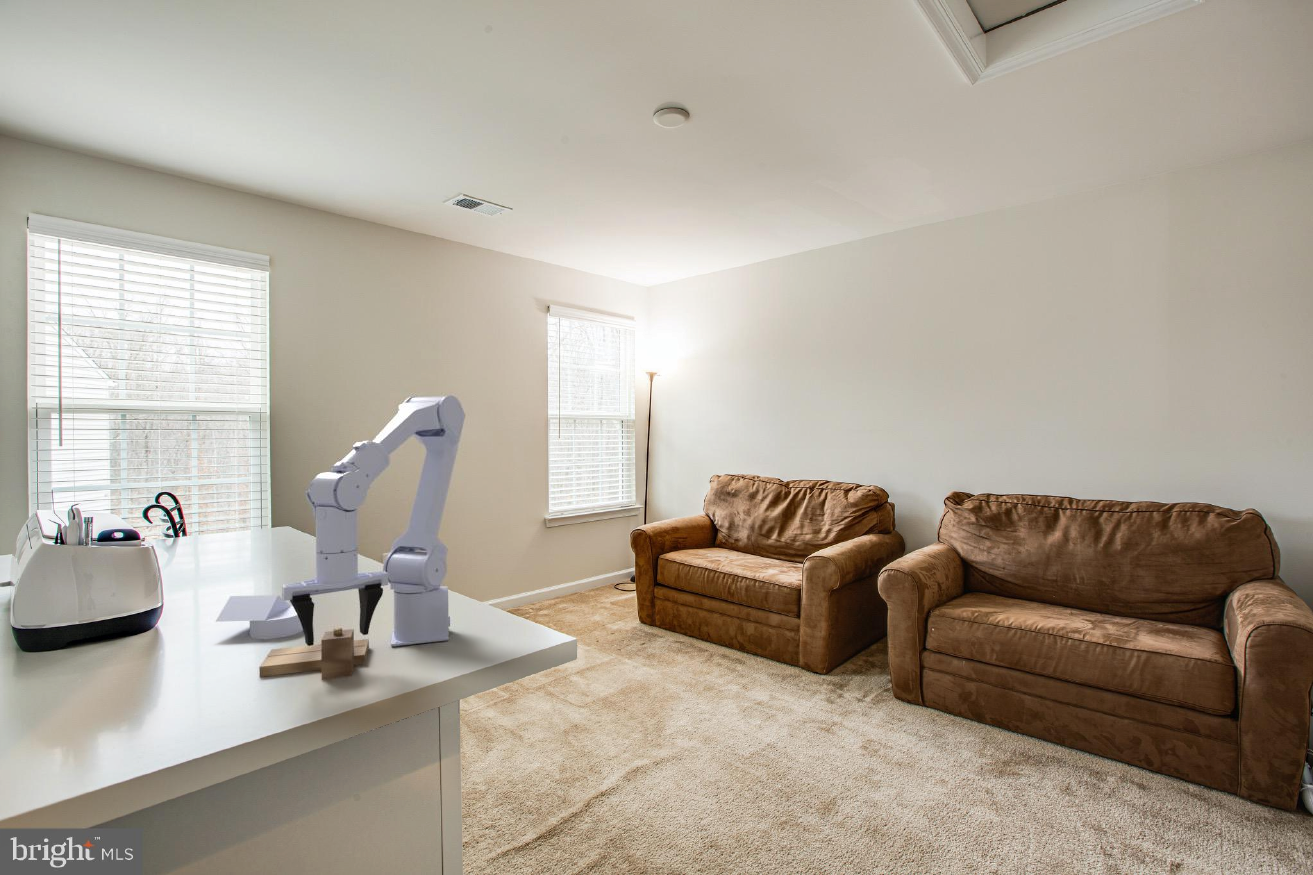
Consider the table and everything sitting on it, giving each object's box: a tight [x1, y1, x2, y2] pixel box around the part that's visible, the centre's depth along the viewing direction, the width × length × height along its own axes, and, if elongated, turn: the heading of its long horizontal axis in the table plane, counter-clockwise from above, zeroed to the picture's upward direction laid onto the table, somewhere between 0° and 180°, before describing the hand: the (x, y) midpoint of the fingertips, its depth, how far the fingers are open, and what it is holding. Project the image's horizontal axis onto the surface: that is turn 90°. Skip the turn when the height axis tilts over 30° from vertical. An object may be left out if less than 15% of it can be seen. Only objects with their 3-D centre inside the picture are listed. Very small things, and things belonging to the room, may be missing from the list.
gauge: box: [320, 627, 355, 681], centre depth 98 cm, size 4×9×7 cm, turn 20°
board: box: [259, 638, 370, 678], centre depth 101 cm, size 14×8×2 cm, turn 110°
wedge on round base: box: [215, 594, 303, 640], centre depth 116 cm, size 9×7×13 cm
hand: (337, 638), depth 96 cm, fingers open, 7 cm apart
